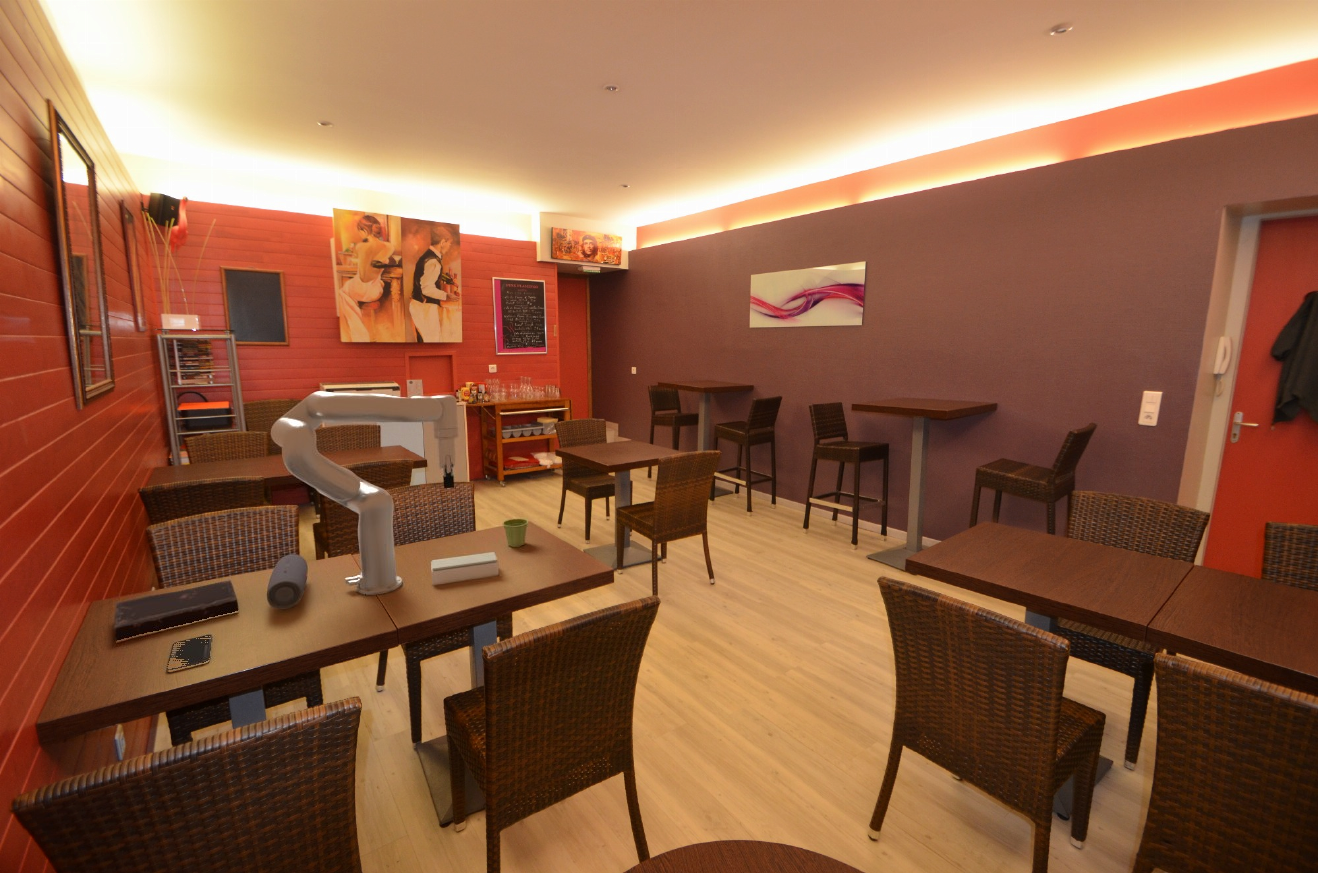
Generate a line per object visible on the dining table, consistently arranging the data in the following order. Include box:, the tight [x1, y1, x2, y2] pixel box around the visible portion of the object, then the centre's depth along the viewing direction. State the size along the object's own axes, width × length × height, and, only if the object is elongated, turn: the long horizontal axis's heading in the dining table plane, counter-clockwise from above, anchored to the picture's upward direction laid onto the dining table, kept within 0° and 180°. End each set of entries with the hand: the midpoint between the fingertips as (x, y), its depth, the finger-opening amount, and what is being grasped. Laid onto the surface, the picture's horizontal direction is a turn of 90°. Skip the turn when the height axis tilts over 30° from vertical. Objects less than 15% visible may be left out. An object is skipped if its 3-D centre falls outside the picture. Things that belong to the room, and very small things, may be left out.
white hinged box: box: [430, 560, 500, 586], centre depth 184 cm, size 20×8×4 cm, turn 113°
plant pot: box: [502, 518, 529, 548], centre depth 213 cm, size 9×9×9 cm
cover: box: [431, 551, 498, 571], centre depth 184 cm, size 20×8×1 cm, turn 113°
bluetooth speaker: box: [266, 553, 309, 610], centre depth 168 cm, size 23×9×10 cm, turn 28°
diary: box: [113, 579, 239, 642], centre depth 157 cm, size 19×25×5 cm
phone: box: [166, 634, 213, 671], centre depth 138 cm, size 8×1×15 cm
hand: (449, 487), depth 189 cm, fingers closed
